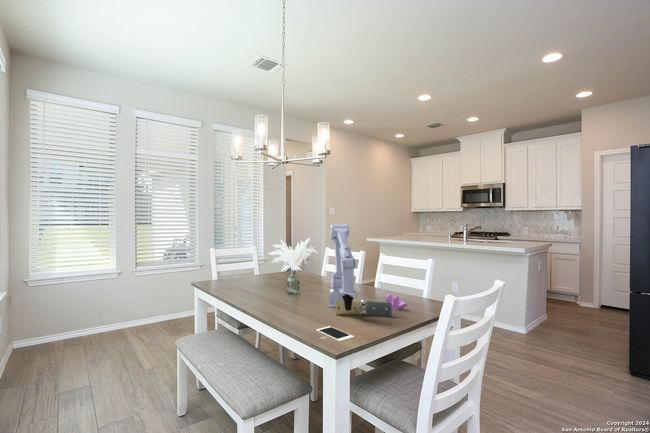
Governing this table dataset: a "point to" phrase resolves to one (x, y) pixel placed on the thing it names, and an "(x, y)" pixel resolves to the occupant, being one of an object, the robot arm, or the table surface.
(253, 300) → the table surface
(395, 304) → the bracket
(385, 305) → the dark grey piece
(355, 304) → the brass leaf
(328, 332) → the cell phone
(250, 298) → the table surface
